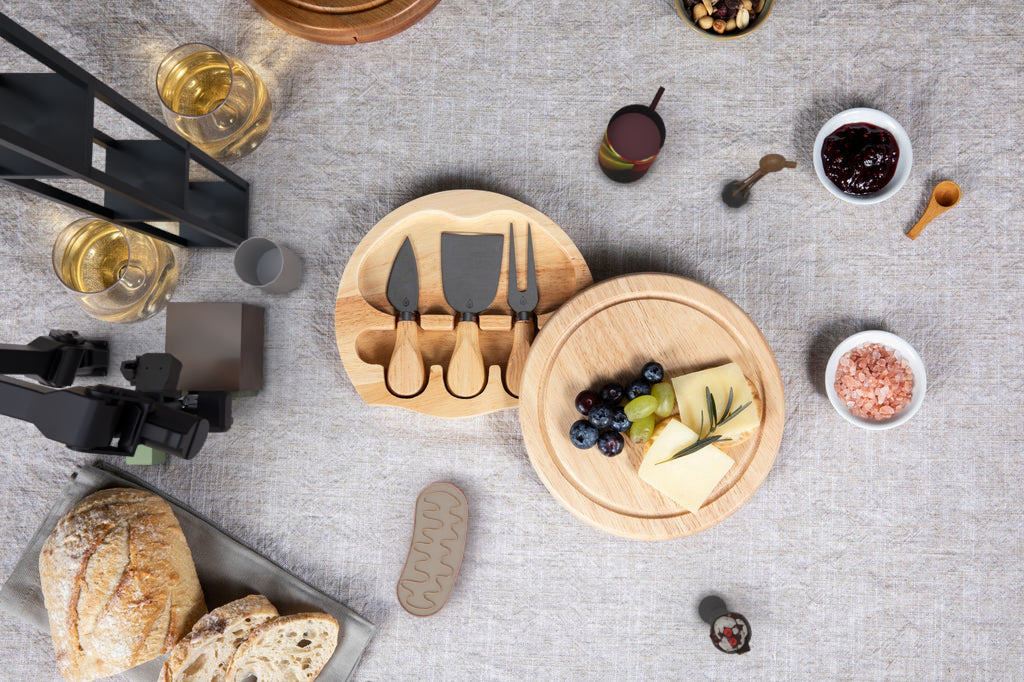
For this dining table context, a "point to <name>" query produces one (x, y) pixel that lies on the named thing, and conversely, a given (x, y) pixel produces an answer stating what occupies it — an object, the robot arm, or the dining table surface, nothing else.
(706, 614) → the sundae
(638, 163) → the mug
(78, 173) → the rack
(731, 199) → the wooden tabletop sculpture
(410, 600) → the mitochondrion model
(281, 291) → the cup
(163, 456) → the block
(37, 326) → the dining table surface
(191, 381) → the cabinet
